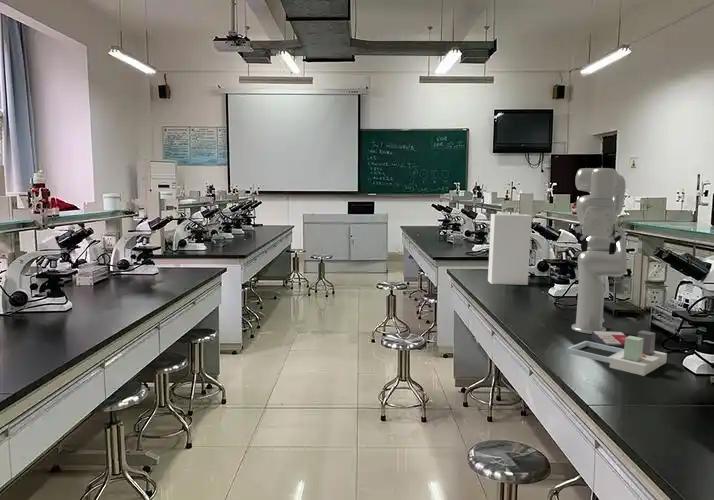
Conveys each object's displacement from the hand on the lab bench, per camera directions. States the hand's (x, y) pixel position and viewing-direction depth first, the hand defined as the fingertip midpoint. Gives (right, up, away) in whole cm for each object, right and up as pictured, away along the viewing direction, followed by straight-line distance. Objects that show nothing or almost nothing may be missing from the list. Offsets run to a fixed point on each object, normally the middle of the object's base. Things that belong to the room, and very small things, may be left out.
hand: (597, 252), depth 196 cm
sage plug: (0, -35, -24) cm, 43 cm away
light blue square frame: (-5, -35, -9) cm, 36 cm away
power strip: (+4, -36, -21) cm, 42 cm away
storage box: (+4, -19, +131) cm, 132 cm away
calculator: (+7, -34, +3) cm, 35 cm away
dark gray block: (+7, -35, -17) cm, 40 cm away
